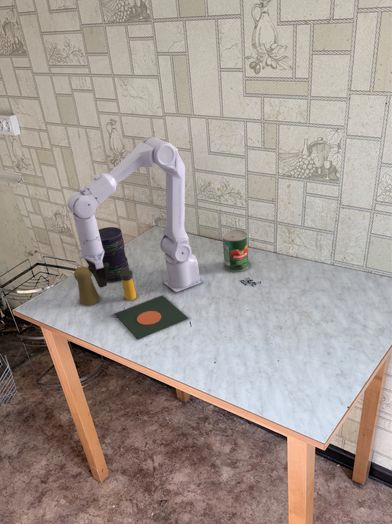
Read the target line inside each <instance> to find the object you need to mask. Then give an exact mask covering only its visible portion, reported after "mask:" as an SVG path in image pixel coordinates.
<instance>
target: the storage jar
mask: <svg viewBox="0 0 392 524" xmlns="http://www.w3.org/2000/svg"><path fill="white" fill-rule="evenodd" d="M98 230H99V234H100V238H101V243H102V247H103V249H104V256H103V259H102V262H103V263H107V262H108V264H109V268H108V271H107V283H117V282H122V280H121V276H120V273H121V272H122V271H125V270H130V269H129V268H130V265H129V261H128V257H127V255H126V250H125V240H124V237H123V232H122V229H121V228H119V227H115V226H108V227H102V228H98Z"/></svg>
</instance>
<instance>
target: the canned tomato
mask: <svg viewBox="0 0 392 524" xmlns="http://www.w3.org/2000/svg"><path fill="white" fill-rule="evenodd" d="M221 238H222V250H223V265H224V269H225V270H226V271H228V272H231V273H238V272H243V271H245V270H247V269H248V268H249V266H250V265H249V248H248V247H249V245H248V233H247V232H246V231H244V230H241V229H232V230H228V231H225V232H223V234H222V235H221Z"/></svg>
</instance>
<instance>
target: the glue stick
mask: <svg viewBox="0 0 392 524" xmlns="http://www.w3.org/2000/svg"><path fill="white" fill-rule="evenodd" d="M120 276H121V284H122V288H123V292H124V298H125V300H126V301H133V300H135V299H136V298H137V293H136V287H135V281H134V278H133V276H134V275H133V271H132V270H130V269H129V270H125V271H122V272H121V273H120Z"/></svg>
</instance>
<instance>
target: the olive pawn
mask: <svg viewBox="0 0 392 524" xmlns="http://www.w3.org/2000/svg"><path fill="white" fill-rule="evenodd" d="M92 276H93V274H92V273H91V272H90V271H89V269H88V266H79V267H78V268H76V269H75V270H74V272H73V277H74V279H75V280H76V281H77V288H78V295H79V302H80V304H81V305H82V306H92V305H95V304H97V303H98V302H100V296H99V293H98V290H97V289H96V286H95V284H94V281H93V279H92Z"/></svg>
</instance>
